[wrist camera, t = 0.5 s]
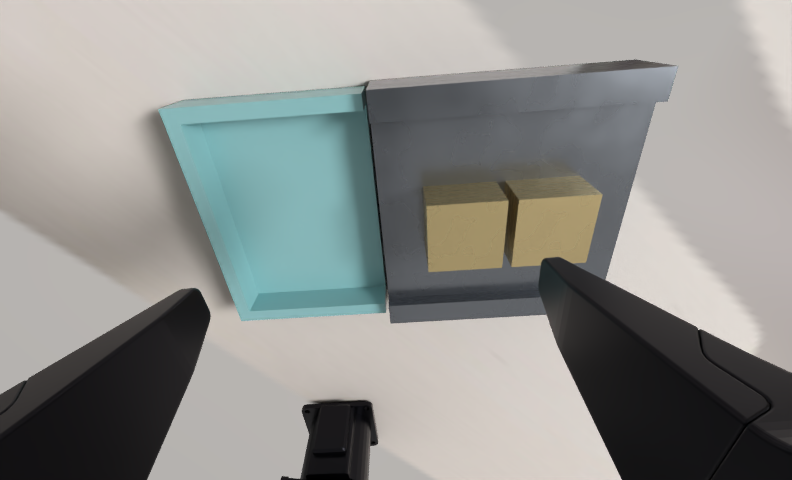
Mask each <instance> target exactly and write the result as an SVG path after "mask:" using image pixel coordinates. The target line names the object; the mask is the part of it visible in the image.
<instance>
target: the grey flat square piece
mask: <svg viewBox="0 0 792 480" xmlns="http://www.w3.org/2000/svg"><path fill="white" fill-rule="evenodd" d="M677 69H678V66H676V65H669V64H662V63H655V62H648V61H641V60H625V61H613V62H600V63H588V64H587V63H586V64H575V65H561V66H548V67H535V68H523V69H510V70H497V71H484V72H471V73H459V74H446V75H433V76H420V77H407V78H395V79H382V80H370V81H369V84H368V86H367V88H366V97H367V106H368V115H369V124H370V123H371V131H372V141H373V150H374V160H375V169H376V179H377V189H378V198H379V208H380V217H381V227H382V236H383V246H384V255H385V265H386V274H387V284H388V294H389V312H390V322H391V323H406V322H424V321H442V320H459V319H477V318H494V317H512V316H530V315H547V314H546V311H545V308H544V305H543V302H542V299H541V296H540V293H539V288H538V283H539V275H540V267H541V265H539V266H523V267H511V265H510V263H509V261H508V259H507V257H506V255H505V253H504V254H503V264H502V268H490V269H473V270H457V271H441V272H428V265H427V258H426V251H425V232H424V203H423V186H437V185H451V184H466V183H480V182H495V181H496V182H497V183H498V185H499V187H500V188H501V190H502V191H503V193H504V191H505V181H509V180H524V179H539V178H553V177H568V176H581V177H582V178H583V179H584V180H586V181H587V182H588V183H589V184H591V185H592V186H593V187H594V188H595V189H597V190H598V191H599V192H600V193H602V194H603V195H602V199H601V203H600V208H599V212H598V216H597V220H596V224H595V228H594V232H593V236H592V240H591V245H590V249H589V253H588V257H587V261H586V263H573V264H575V265H577V266H579V267H581V268H582V269H584V270H586V271H588V272H590V273H592V274H594V275H596V276H598V277H600V278H602V279H604V280H605V279H606V276H607V272H608V269H609V265H610V262H611V258H612V255H613V251H614V248H615V244H616V240H617V237H618V233H619V230H620V226H621V223H622V219H623V216H624V212H625V209H626V205H627V202H628V198H629V195H630V191H631V188H632V184H633V181H634V177H635V174H636V170H637V167H638V163H639V160H640V156H641V153H642V149H643V146H644V142H645V139H646V135H647V132H648V128H649V125H650V121H651V117H652V114H653V111H654V107H655V103H656V102H664V101H668V99H669V96H670V92H671V89H672V86H673V82H674V79H675V76H676V72H677Z"/></svg>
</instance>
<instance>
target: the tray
mask: <svg viewBox="0 0 792 480" xmlns="http://www.w3.org/2000/svg"><path fill="white" fill-rule="evenodd" d="M158 110H159V113H160V115H161V118H162V120H163V123H164V126H165V128H166V131H167V133H168V136H169V138H170V141H171V143H172V146H173V148H174V151H175V153H176V156H177V159H178V161H179V164H180V166H181V169H182V171H183V174H184V176H185V179H186V181H187V184H188V186H189V189H190V192H191V194H192V197H193V199H194V202H195V204H196V207H197V209H198V212H199V214H200V217H201V219H202V222H203V225H204V227H205V230H206V232H207V235H208V237H209V240H210V242H211V245H212V247H213V250H214V253H215V255H216V258H217V260H218V263H219V265H220V268H221V270H222V273H223V275H224V278H225V280H226V283H227V286H228V288H229V291H230V293H231V296H232V298H233V301H234V303H235V306H236V308H237V311H238V313H239V316H240V319H241V321H249V320H266V319H283V318H301V317H318V316H335V315H352V314H370V313H386V296H387V288H386V278H385V269H384V260H383V250H382V241H381V232H380V223H379V213H378V204H377V195H376V185H375V176H374V167H373V157H372V148H371V139H370V129H369V120H368V111H367V101H366V92H365V86H357V87H344V88H331V89H318V90H306V91H293V92H280V93H267V94H254V95H241V96H228V97H216V98H203V99H190V100H182V101H179V102H177V103H174V104H171V105H168V106H165V107H163V108H160V109H158Z"/></svg>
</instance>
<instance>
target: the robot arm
mask: <svg viewBox="0 0 792 480" xmlns="http://www.w3.org/2000/svg"><path fill="white" fill-rule="evenodd" d="M538 288H539V293H540V296H541V299H542V302H543V305H544V308H545V311H546V314H547V317H548V320H549V323H550V326H551V329H552V332H553V335H554V337H555V340H556V343H557V345H558V347H559V350H560V352H561V354H562V356H563V358H564V360H565V362H566V364H567V367H568V369H569V371H570V373H571V375H572V377H573V379H574V381H575V383H576V385H577V387H578V389H579V392H580V394H581V396H582V398H583V400H584V402H585V404H586V406H587V408H588V410H589V412H590V414H591V416H592V419H593V421H594V423H595V425H596V427H597V429H598V431H599V433H600V435H601V437H602V439H603V441H604V443H605V446H606V448H607V450H608V452H609V454H610V456H611V458H612V460H613V462H614V464H615V466H616V468H617V471H618V473H619V475H620V477H621V479H622V480H792V373H791V372H788V371H786V370H784V369H782V368H780V367H777V366H775V365H773V364H771V363H769V362H767V361H764V360H762V359H760V358H758V357H756V356H754V355H751V354H749V353H747V352H745V351H743V350H741V349H739V348H737V347H735V346H733V345H731V344H729V343H727V342H725V341H723V340H721V339H719V338H717V337H715V336H713V335H711V334H709V333H707V332H706V331H704V330H701V329H700V330H698V328H697V327H696V326H694V325H692V324H690V323H688V322H686V321H684V320H682V319H680V318H678V317H676V316H674V315H672V314H670V313H668V312H666V311H664V310H662V309H661V308H659V307H657V306H655V305H653V304H651V303H649V302H647V301H645V300H643V299H641V298H639V297H637V296H635V295H633V294H631V293H629V292H627V291H625V290H623V289H621V288H620V287H618V286H616V285H614V284H612V283H610V282H608V281H606V280H604V279H602V278H600V277H598V276H596V275H594V274H592V273H590V272H588V271H586V270H584V269H582V268H581V267H579V266H577V265H575V264H573V263H571V262H569V261H567V260H565V259H563V258H561V257H550V258H544V259H543V260H542V262H541V267H540V275H539V283H538ZM209 322H210V311H209V308H208V306H207V304H206V302H205V300H204V298H203V296H202V294H201V292H200V291H199V290H198V289H196V288H190V289H181V290H179V291H177V292H175V293H173V294H172V295H170V296H168V297H167V298H165V299H163V300H161V301H160V302H158V303H156V304H155V305H153V306H151V307H149V308H148V309H146V310H144V311H143V312H141V313H139V314H138V315H136V316H134V317H132V318H131V319H129V320H127V321H125V322H124V323H122V324H120V325H119V326H117V327H115V328H113V329H112V330H110V331H108V332H107V333H105V334H103V335H102V336H100V337H98V338H97V339H95V340H93V341H92V342H90V343H88V344H86V345H85V346H83V347H81V348H79V349H78V350H76V351H74V352H72V353H71V354H69V355H67V356H66V357H64V358H62V359H61V360H59V361H57V362H55V363H54V364H52V365H50V366H48V367H47V368H45V369H43V370H42V371H40V372H38V373H36V374H35V375H34V376H31V377H30V378H29V379H28V380H27V381H23V382H21V383H19V384H17V385H16V386H14V387H12V388H11V389H9V390H7V391H6V392H4V393H2V394H1V395H0V480H147V478H148V476H149V474H150V472H151V469H152V467H153V465H154V462H155V460H156V458H157V455H158V453H159V451H160V449H161V446H162V444H163V442H164V439H165V437H166V435H167V432H168V430H169V428H170V426H171V423H172V421H173V419H174V416H175V414H176V412H177V409H178V407H179V405H180V402H181V400H182V398H183V396H184V393H185V391H186V389H187V386H188V384H189V382H190V379H191V377H192V375H193V372H194V369H195V366H196V363H197V360H198V357H199V354H200V351H201V347H202V344H203V341H204V338H205V335H206V332H207V329H208V325H209ZM302 414H303V417H304V420H305V423H306V426H307V428H308V431H309V439H308V444H307V449H306V454H305V459H304V464H303V468H302V473H301V478H300V479H293V478H289V477H283V476H282V478H281V480H368V476H369V457H370V446H374V445H377V444H378V435H377V429H376V423H375V417H374V412H373V406H372V403H371V402H347V403H327V404H307V405H304V406H303V408H302Z"/></svg>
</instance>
